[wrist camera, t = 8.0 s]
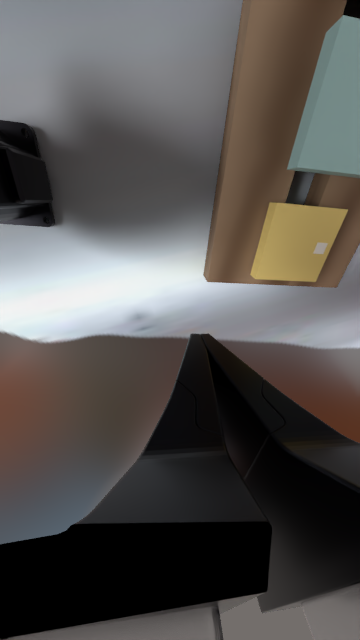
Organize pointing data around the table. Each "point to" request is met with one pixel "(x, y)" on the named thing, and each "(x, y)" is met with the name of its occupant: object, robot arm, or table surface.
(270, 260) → the tile mustard
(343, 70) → the tile teal
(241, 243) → the button board
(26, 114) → the table surface
